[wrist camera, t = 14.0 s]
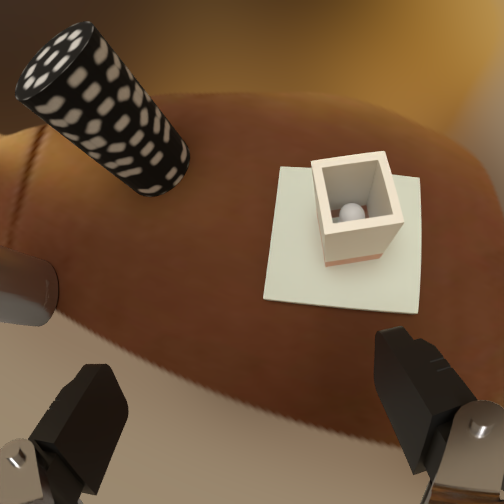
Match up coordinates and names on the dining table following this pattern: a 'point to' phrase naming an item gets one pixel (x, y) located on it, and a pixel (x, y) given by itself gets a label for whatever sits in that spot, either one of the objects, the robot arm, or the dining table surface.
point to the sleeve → (364, 194)
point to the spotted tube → (103, 110)
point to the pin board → (345, 275)
